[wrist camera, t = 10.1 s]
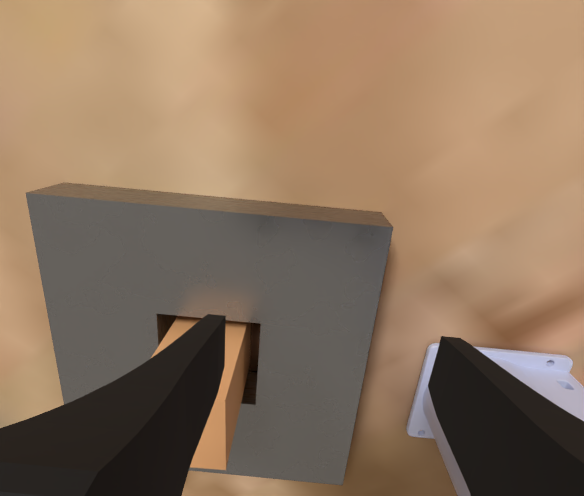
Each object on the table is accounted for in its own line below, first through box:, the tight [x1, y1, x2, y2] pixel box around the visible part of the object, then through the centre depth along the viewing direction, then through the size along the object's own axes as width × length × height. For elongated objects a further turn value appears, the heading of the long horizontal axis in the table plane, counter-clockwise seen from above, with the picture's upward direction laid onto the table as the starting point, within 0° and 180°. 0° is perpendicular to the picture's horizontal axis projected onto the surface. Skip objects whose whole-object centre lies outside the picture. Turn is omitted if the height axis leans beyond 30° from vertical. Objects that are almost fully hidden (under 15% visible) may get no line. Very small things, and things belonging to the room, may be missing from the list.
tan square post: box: [151, 316, 251, 470], centre depth 20 cm, size 4×4×8 cm
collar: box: [26, 183, 393, 485], centre depth 22 cm, size 19×19×3 cm
